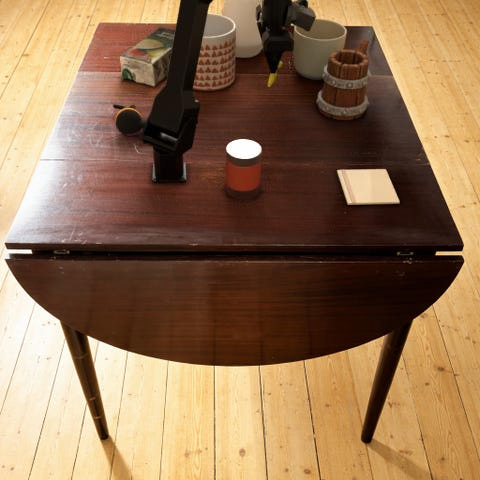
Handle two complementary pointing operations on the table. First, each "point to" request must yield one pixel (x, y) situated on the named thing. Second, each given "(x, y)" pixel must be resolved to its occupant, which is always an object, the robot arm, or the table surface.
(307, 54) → the planter
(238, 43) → the white rounded pot
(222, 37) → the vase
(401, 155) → the table surface
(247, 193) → the can
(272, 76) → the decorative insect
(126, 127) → the character figurine
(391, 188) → the napkin
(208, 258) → the table surface
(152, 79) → the juice carton
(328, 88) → the mug
